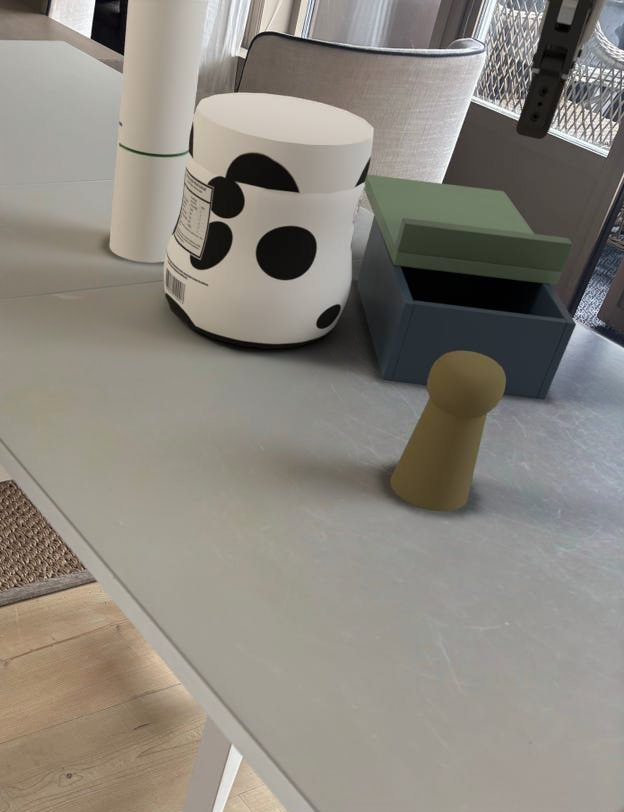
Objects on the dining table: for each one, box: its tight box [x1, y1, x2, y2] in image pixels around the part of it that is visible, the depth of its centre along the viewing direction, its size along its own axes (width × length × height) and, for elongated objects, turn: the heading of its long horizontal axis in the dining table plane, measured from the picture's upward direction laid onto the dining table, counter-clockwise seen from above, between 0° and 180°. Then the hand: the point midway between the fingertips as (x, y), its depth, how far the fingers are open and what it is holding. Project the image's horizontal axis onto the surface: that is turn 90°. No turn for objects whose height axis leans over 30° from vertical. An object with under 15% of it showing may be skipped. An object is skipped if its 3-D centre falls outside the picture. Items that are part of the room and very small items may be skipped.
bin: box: [356, 214, 577, 400], centre depth 92 cm, size 15×22×8 cm
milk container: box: [163, 92, 375, 350], centre depth 87 cm, size 17×17×18 cm
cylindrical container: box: [109, 0, 209, 264], centre depth 95 cm, size 7×7×25 cm
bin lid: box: [364, 174, 573, 286], centre depth 95 cm, size 15×22×4 cm
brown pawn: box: [389, 351, 506, 512], centre depth 70 cm, size 6×6×11 cm
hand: (530, 134), depth 70 cm, fingers closed
